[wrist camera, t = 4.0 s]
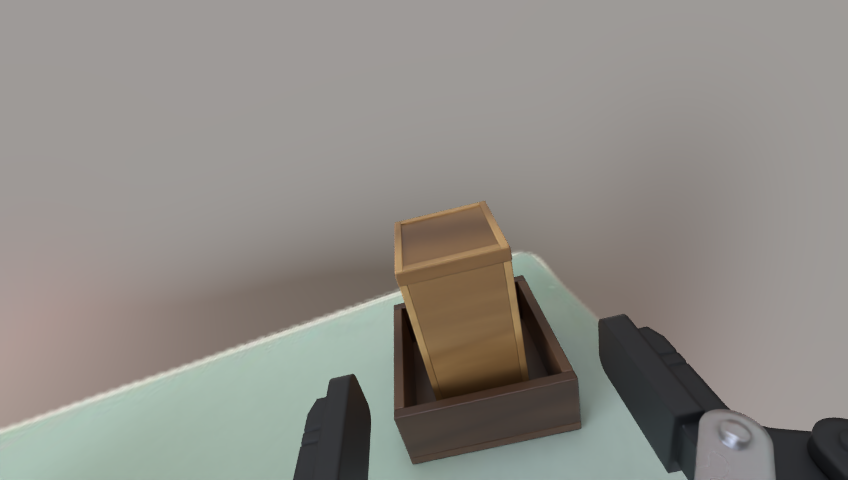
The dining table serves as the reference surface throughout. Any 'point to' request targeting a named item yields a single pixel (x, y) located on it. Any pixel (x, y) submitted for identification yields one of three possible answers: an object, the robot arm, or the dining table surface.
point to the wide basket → (484, 394)
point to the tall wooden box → (461, 299)
